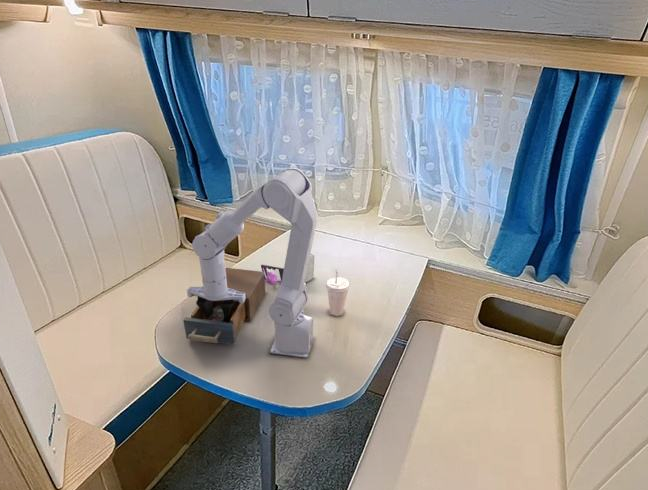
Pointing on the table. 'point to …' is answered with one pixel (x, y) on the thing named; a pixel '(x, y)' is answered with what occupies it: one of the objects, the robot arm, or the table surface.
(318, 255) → the table surface
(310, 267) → the medicine box
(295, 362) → the table surface
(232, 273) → the cabinet
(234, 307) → the drawer
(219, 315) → the remote
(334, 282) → the smoothie
